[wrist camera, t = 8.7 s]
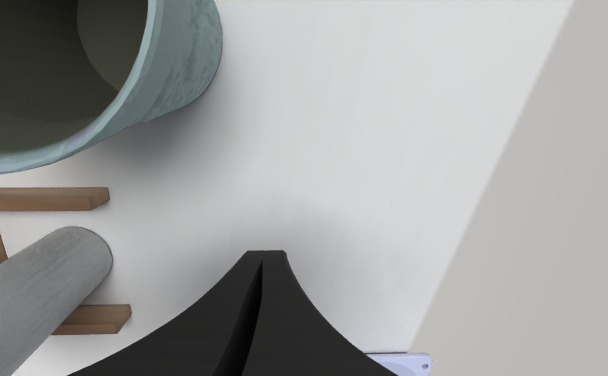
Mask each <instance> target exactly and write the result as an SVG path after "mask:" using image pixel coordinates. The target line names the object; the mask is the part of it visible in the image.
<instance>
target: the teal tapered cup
mask: <svg viewBox="0 0 608 376" xmlns="http://www.w3.org/2000/svg"><path fill="white" fill-rule="evenodd" d="M221 49H222V28H221V23H220V18H219V14H218V11H217V8H216V5H215V2H214V0H0V174H6V173H13V172H21V171H25V170H29V169H33V168H37V167H41V166H45V165H49V164H52V163H55V162H57V161H60V160H62V159H65V158H68V157H70V156H72V155H74V154H76V153H78V152H80V151H82V150H84V149H86V148H88V147H90V146H92V145H94V144H96V143H98V142H100V141H102V140H104V139H106V138H108V137H111V136H113V135H115V134H116V133H118V132H120V131H121V130H123V129H126V128H128V127H131V126H132V125H134V124H139V123H145V122H147V121H150V120H152V119H155V118H158V117H160V116H162V115H164V114H167V113H169V112H172V111H174V110H176V109H179V108H181V107H184V106H186V105H187V104H189V103H191V102H192V101H194V100H195V99H196V98H198V97H199V96H200V95H201V94H202V93H203V92H204V91H205V89H206V88H207V87H208V85H209V84H210V82H211V81H212V79H213V77H214V75H215V73H216V71H217V67H218V64H219V61H220V58H221Z"/></svg>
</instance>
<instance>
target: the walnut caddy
mask: <svg viewBox="0 0 608 376" xmlns="http://www.w3.org/2000/svg"><path fill="white" fill-rule="evenodd" d="M109 199H110V198H109V193H108V188H0V211H91V210H93V209H95V208H96V207H98V206H99V205H101V204H103V203H104V202H106V201H108V200H109ZM6 260H7V256H6V253H5V250H4V246H3V243H2V240H1V237H0V264H1V263H2V262H4V261H6ZM131 314H132V313H131V308H130V305H78V306H77V307H76V308H75V310H74V311H73V312H72V313H71V314H70V315H69V316H68V317H67V318H66V319H65V320H64V321H63V322H62V323H61V324H60V325H59V326H58V327H57V328H56V329H55V330H54V331H53V332H52V333H51V334H50V335H85V334H118V332H119V331H120V329H121V328H122V326H123V325H124V324H125V322H126V321H127V319H128V318H129V317H130V315H131Z"/></svg>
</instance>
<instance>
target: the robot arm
mask: <svg viewBox="0 0 608 376" xmlns="http://www.w3.org/2000/svg"><path fill="white" fill-rule="evenodd" d="M431 363H432V359H431V357H430V355H429V354H427V353H405V354H364V353H363V352H362V351H360V350H359V349H358V348H356V347H355V346H354V345H352V344H351V343H350V342H349V341H348V340H347V339H346V338H344V337H343V336H342V335H341V334H340V333H339V332H338V331H337V330H336V329H334V328H333V327H332V325H331V324H330V323H329V322H328V321H327V320H326V319H325V318H324V317H323V316H322V315H321V313H320V312H319V311H318V310H317V309H316V307H315V306H314V305H313V304H312V302H311V301H310V300H309V298H308V297H307V295H306V294H305V292H304V291H303V289H302V288H301V286H300V284H299V283H298V281H297V279H296V277H295V275H294V274H293V272H292V269H291V267H290V265H289V262H288V259H287V253H286V252H284V251H283V250H269V251H247V252H246V253H245V254H244V255H243V256H242V257H241V258H240V259H239V260H238V261H237V263H236V264H235V265H234V266H233V267H232V268H231V269H230V270H229V271H228V272H227V273H226V274H225V275H224V276H223V278H222V279H221V280H220V281H219V282H218V283H217V284H216V285H215V286H213V287H212V288H211V289H210V290H209V291H208V292H207V293H206V294H205V295H204V296H202V297H201V298H200V299H199V300H198V301H197V302H195V303H194V304H193V305H192V306H190V307H189V308H188V309H186V310H185V311H184V312H182V313H181V314H180V315H178V316H177V317H175V318H174V319H172V320H171V321H169V322H168V323H166V324H165V325H163V326H161V327H160V328H158V329H157V330H155V331H153V332H152V333H150V334H149V335H147V336H146V337H144V338H142V339H140V340H139V341H137V342H135V343H133V344H131V345H130V346H128V347H126V348H124V349H122V350H120V351H118V352H116V353H114V354H112V355H111V356H109V357H107V358H105V359H103V360H100V361H98V362H96V363H94V364H92V365H90V366H88V367H85V368H83V369H81V370H79V371H76V372H74V373H72V374H70V375H67V376H429V375H430V369H431Z"/></svg>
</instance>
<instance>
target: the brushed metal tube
mask: <svg viewBox="0 0 608 376" xmlns="http://www.w3.org/2000/svg"><path fill="white" fill-rule="evenodd" d="M111 266H112V255H111V252H110V250H109V248H108V246H107V244H106V243H105V242H104V241H103V240H102V239H101V238H100V237H99V236H98V235H96V234H95V233H93V232H91V231H89V230H87V229H84V228H80V227H64V228H60V229H58V230H55V231H54V232H52V233H50V234H48V235H46V236H45V237H43V238H41V239H40V240H38V241H37V242H35V243H33V244H32V245H30V246H28V247H27V248H25V249H24V250H22V251H20V252H19V253H17V254H15V255H14V256H12V257H10V258H9V259H7V260H6V261H4V262H2V263H1V264H0V376H11V375H12V374H13V373H14V372H15V371H16V370H17V369H18V368H19V367H20V366H21V365H22V364H23V363H24V362H25V360H26V359H27V358H28V357H29V356H30V355H31V354H32V353H33V352H34V351H35V350H36V349H37V348H38V347H39V346H40V345H41V344H42V343H43V342H44V341H45V340H46V339H47V338H48V337H49V336H50V334H51V333H52V332H53V331H54V330H55V329H56V328H57V327H58V326H59V325H60V324H61V323H62V322H63V321H64V320H65V319H66V318H67V317H68V316H69V315H70V314H71V313H72V312H73V311H74V310H75V308H76V307H77V306H78V305H79V304H80V303H81V302H82V301H83V300H84V299H85V298H86V297H87V296H88V295H89V294H90V293H91V292H92V291H93V290H94V289H95V288H96V287H97V286H98V285H99V284H100V282H101V281H102V280H103V279H104V278H105V277H106V276H107V274H108V273H109V271H110V269H111Z"/></svg>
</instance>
